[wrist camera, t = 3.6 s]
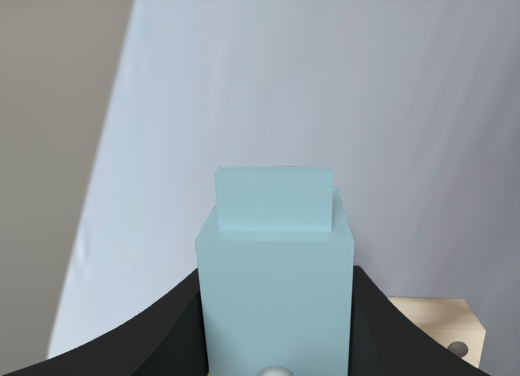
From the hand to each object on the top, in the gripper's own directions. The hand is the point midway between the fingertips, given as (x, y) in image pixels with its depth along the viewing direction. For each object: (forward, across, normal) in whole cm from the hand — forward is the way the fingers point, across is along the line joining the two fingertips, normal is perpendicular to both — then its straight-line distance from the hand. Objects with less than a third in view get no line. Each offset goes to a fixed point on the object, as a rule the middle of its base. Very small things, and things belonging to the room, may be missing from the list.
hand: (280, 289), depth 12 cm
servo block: (+2, 0, 0) cm, 2 cm away
